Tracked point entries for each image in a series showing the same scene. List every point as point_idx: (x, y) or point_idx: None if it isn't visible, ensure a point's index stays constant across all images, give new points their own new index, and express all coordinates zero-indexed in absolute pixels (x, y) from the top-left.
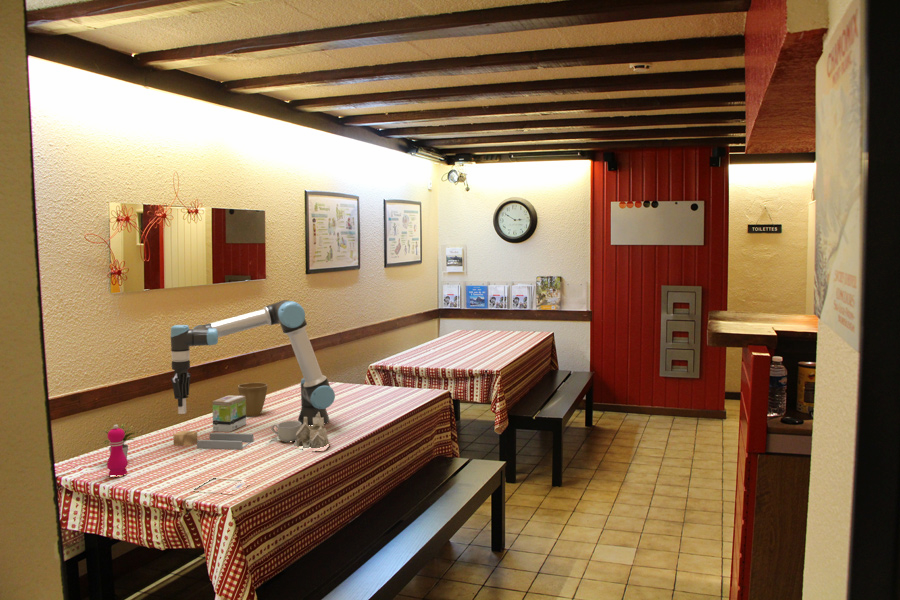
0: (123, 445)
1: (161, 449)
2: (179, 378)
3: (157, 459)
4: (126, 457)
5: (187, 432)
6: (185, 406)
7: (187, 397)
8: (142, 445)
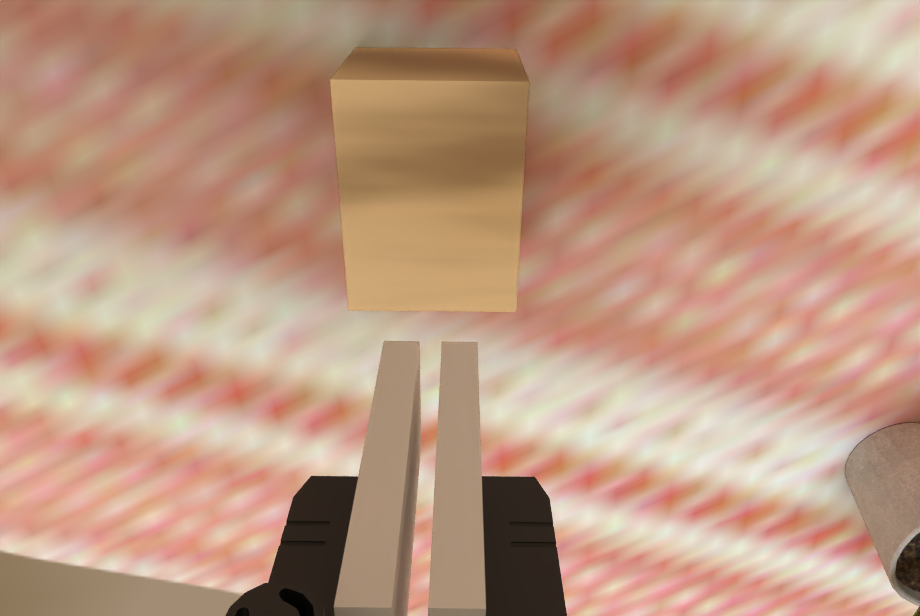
0: (897, 550)
1: (566, 325)
2: None
3: (905, 201)
4: (916, 440)
5: (399, 192)
6: (399, 429)
7: (282, 597)
8: None
